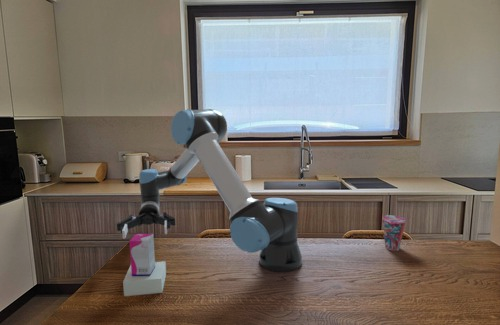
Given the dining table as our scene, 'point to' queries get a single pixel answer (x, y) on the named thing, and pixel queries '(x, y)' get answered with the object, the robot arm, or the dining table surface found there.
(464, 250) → the dining table surface
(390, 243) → the cup
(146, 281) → the base block
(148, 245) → the supplement box
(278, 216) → the robot arm
